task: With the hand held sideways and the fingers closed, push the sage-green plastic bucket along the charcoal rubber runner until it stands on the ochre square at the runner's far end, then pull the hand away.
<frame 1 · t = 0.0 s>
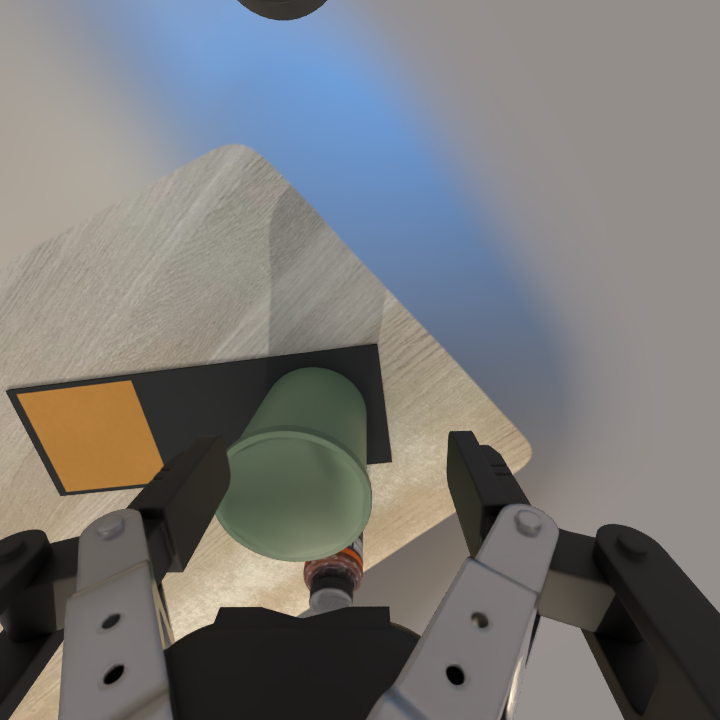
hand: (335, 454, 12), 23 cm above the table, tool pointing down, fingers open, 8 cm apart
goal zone: (98, 438, 40), resting on runner
runner: (204, 426, 39), on the table
bucket: (315, 414, 38), resting on runner
supplement bottle: (338, 510, 43), on the table
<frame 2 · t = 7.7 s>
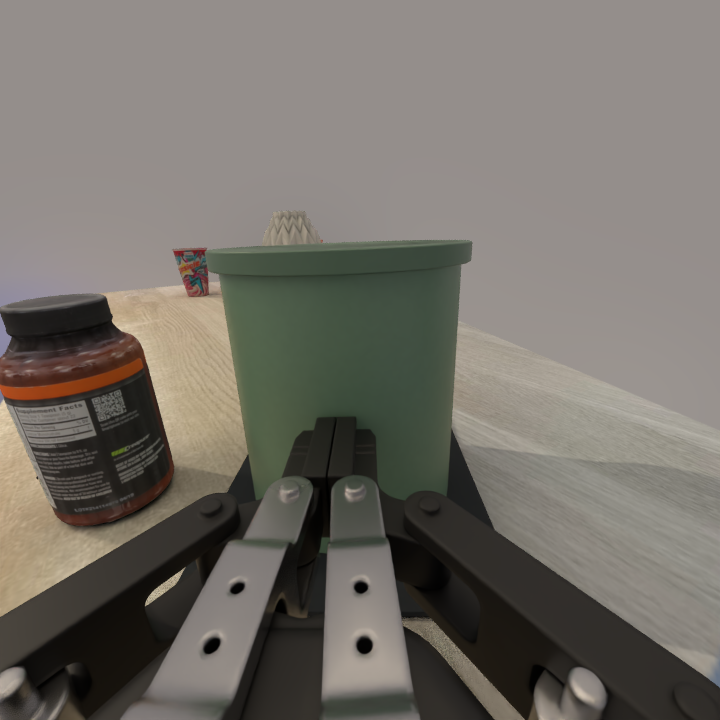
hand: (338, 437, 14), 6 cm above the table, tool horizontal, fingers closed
cup: (200, 295, 94), on the table
runner: (358, 393, 32), on the table
bucket: (351, 475, 21), resting on runner
vase: (298, 305, 76), on the table
supplement bottle: (121, 494, 21), on the table
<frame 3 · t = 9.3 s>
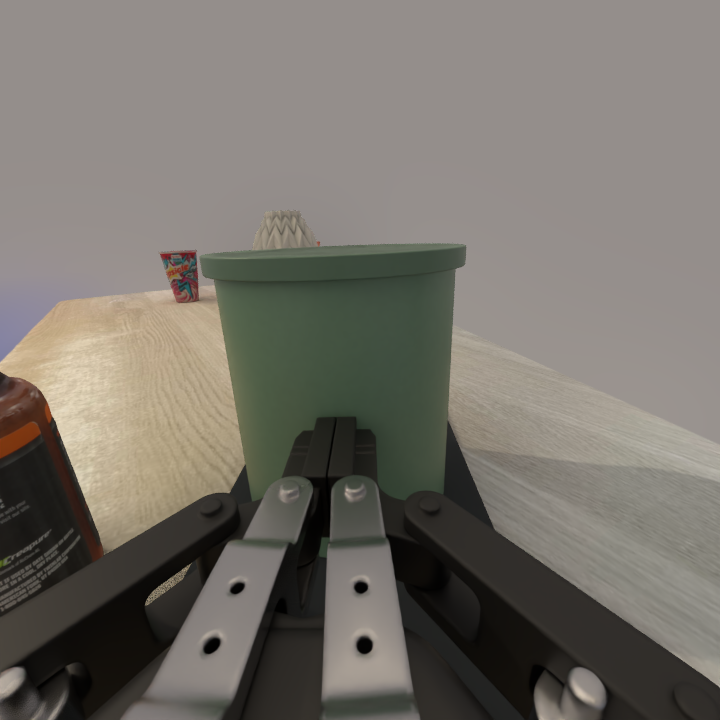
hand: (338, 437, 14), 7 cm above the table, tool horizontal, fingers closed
cup: (189, 301, 88), on the table
runner: (356, 431, 26), on the table
bucket: (348, 478, 21), resting on runner, touching gripper
vase: (292, 312, 70), on the table
supplement bottle: (23, 602, 15), on the table
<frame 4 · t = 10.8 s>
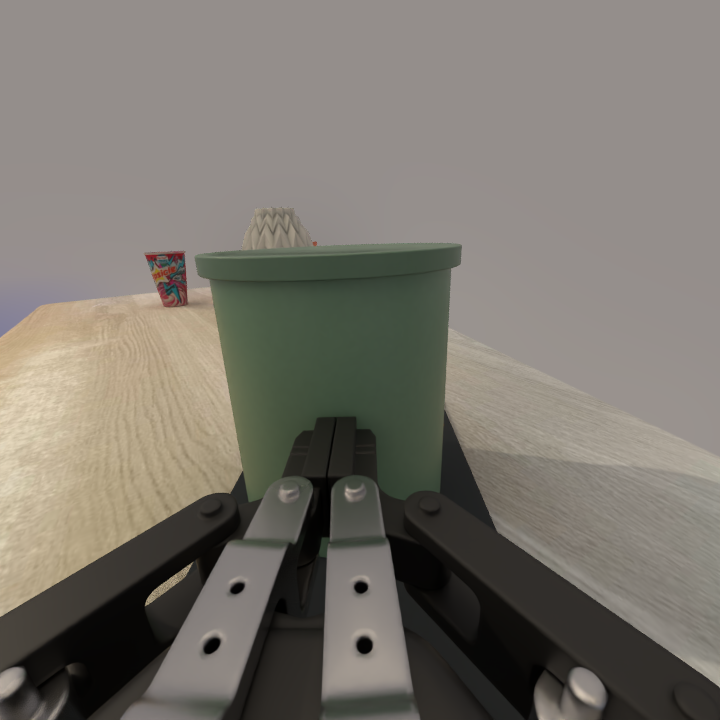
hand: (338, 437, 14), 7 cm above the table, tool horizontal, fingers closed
cup: (177, 305, 83), on the table
runner: (354, 484, 21), on the table
bucket: (345, 478, 21), resting on runner, touching gripper
vase: (286, 319, 65), on the table
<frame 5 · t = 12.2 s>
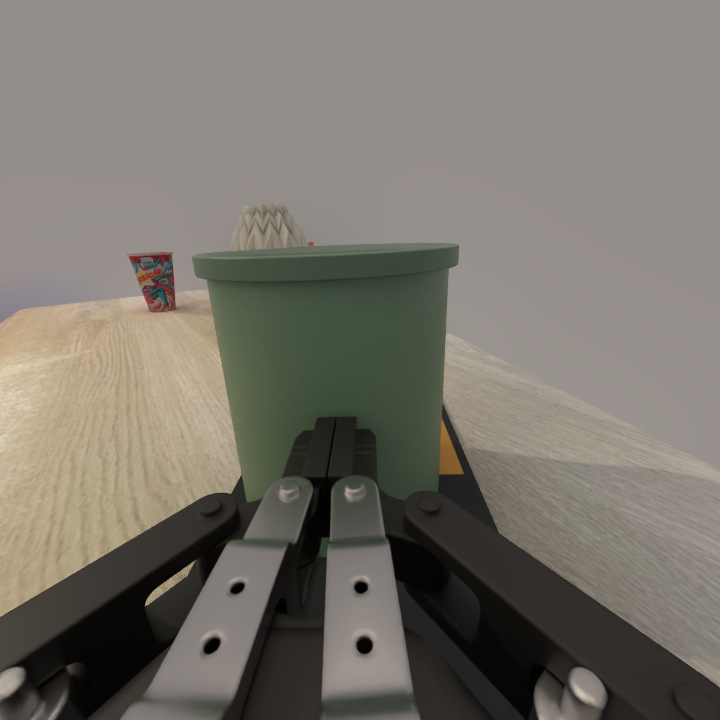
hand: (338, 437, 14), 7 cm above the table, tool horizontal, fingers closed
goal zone: (358, 424, 27), resting on runner
cup: (164, 310, 77), on the table
runner: (350, 570, 15), on the table
bucket: (343, 478, 21), resting on runner, touching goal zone, gripper
vase: (279, 326, 59), on the table
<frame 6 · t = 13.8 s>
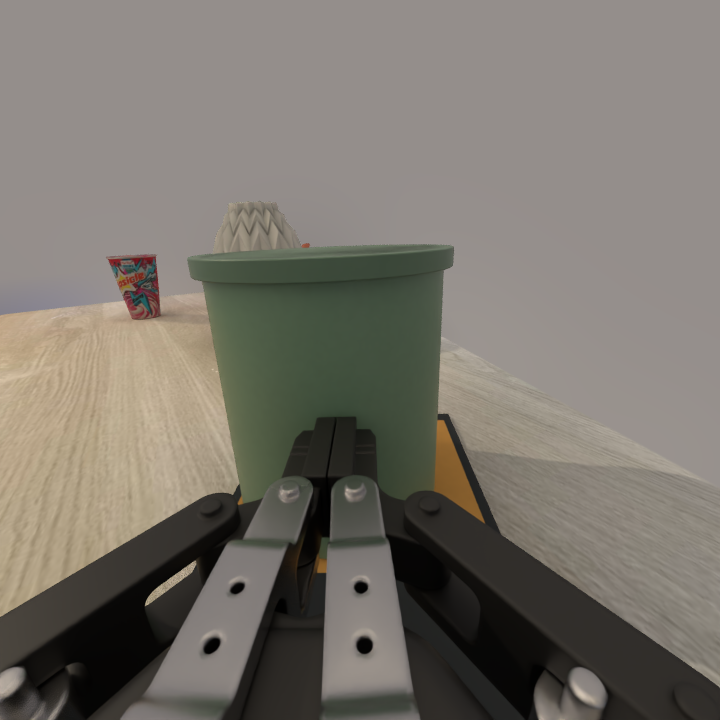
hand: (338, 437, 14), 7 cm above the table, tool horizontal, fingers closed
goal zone: (356, 479, 21), resting on runner
cup: (148, 317, 72), on the table
bucket: (339, 479, 21), resting on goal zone, touching runner
vase: (270, 337, 53), on the table
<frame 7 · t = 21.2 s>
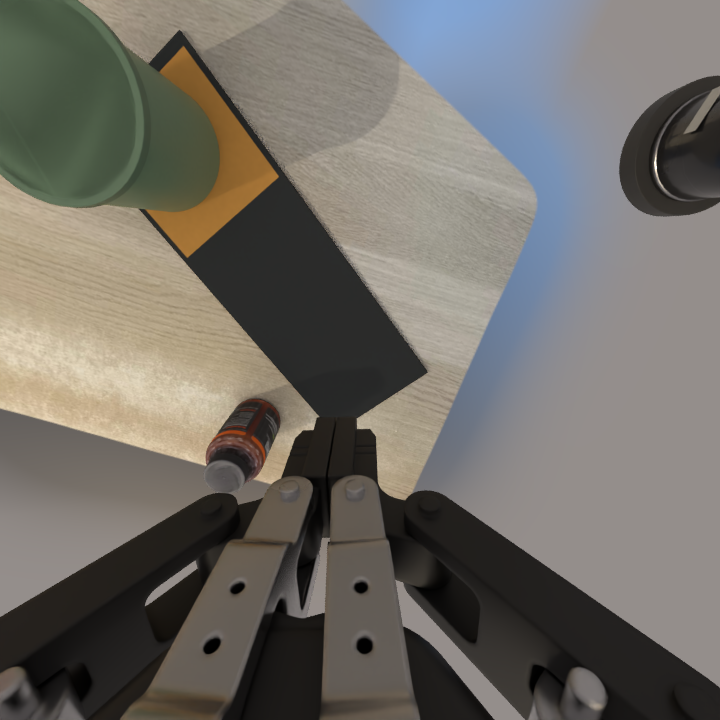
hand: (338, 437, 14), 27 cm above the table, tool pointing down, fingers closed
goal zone: (187, 162, 34), resting on runner
runner: (271, 267, 38), on the table
bucket: (163, 150, 34), resting on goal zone
supplement bottle: (258, 417, 44), on the table
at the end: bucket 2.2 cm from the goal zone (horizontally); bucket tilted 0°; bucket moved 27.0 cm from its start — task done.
